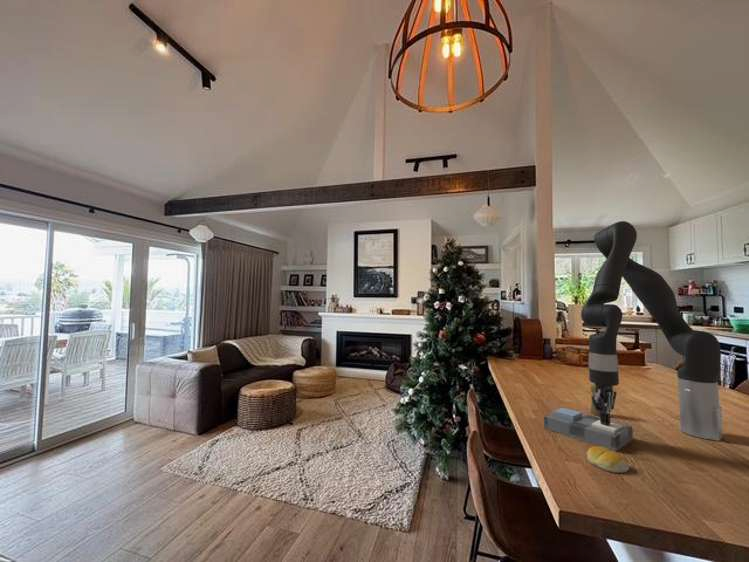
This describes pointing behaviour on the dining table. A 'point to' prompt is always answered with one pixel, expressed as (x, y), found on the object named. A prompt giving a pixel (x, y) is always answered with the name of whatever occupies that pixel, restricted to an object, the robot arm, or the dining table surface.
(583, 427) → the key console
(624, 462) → the bread roll
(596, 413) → the cork
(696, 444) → the dining table surface
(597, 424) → the ivory key
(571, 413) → the slate-blue key
